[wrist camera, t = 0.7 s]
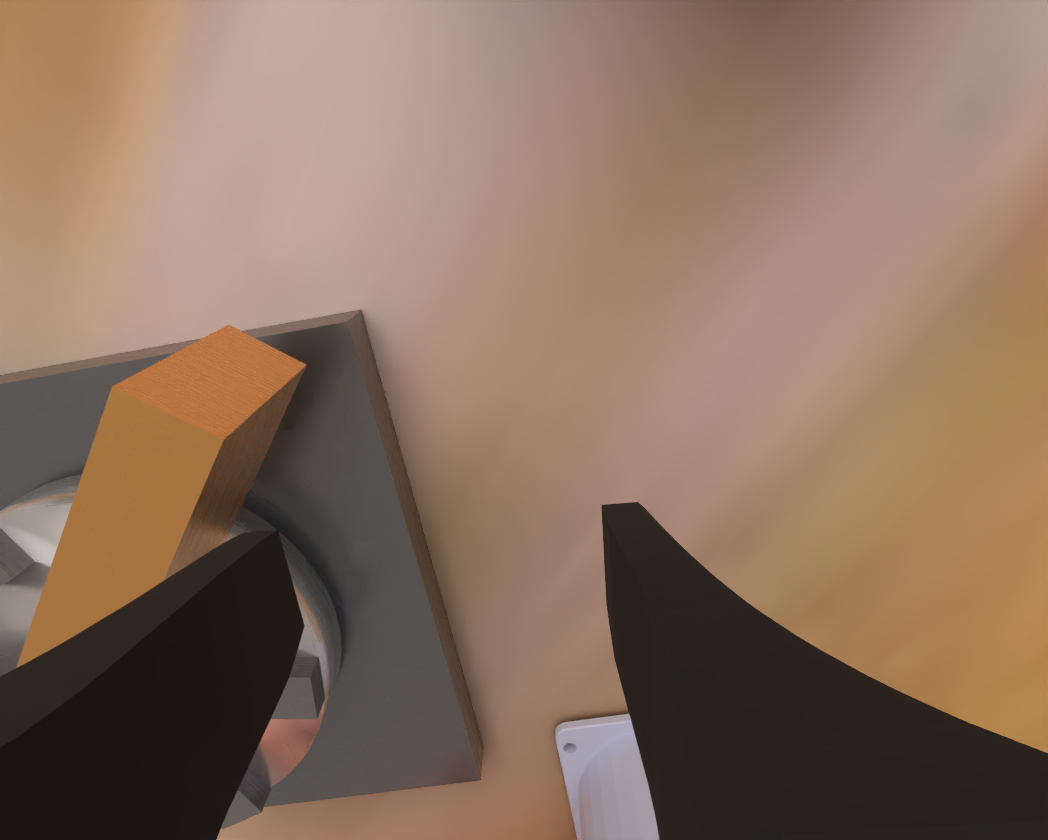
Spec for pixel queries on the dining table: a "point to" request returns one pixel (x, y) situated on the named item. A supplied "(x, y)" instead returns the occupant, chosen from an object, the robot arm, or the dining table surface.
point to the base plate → (309, 548)
